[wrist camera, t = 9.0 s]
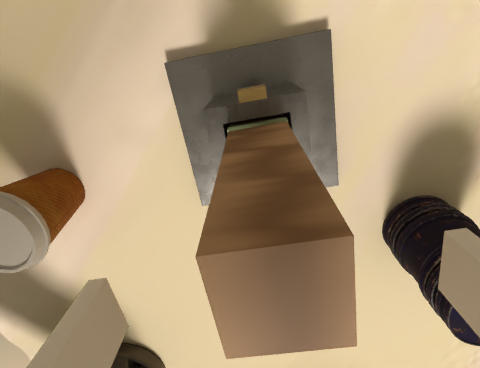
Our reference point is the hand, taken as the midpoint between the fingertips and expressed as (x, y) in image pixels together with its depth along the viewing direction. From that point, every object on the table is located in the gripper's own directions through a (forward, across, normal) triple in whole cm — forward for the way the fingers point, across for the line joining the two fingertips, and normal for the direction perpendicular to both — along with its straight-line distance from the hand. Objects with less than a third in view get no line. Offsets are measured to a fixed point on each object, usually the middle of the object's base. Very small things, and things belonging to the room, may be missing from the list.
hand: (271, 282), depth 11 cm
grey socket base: (+27, -1, 0) cm, 27 cm away
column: (+19, 0, 0) cm, 19 cm away
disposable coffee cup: (+27, +27, +4) cm, 39 cm away
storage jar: (+27, -21, +18) cm, 38 cm away
